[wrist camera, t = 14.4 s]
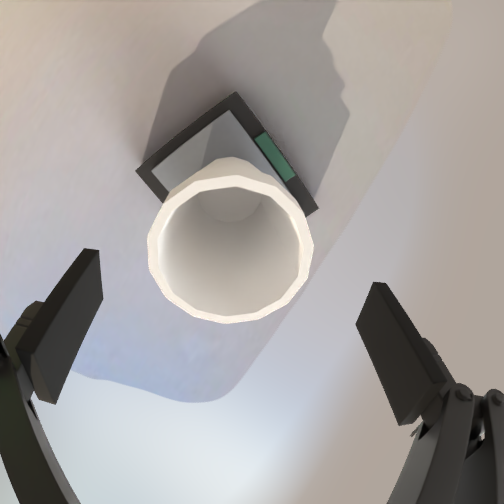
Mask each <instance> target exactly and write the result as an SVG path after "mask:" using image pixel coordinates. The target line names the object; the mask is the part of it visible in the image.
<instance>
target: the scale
mask: <svg viewBox="0 0 504 504" xmlns="http://www.w3.org/2000/svg"><path fill="white" fill-rule="evenodd" d="M226 157H236V158H239V159H242V160H246V161H248V162H250V163H251V164H252V165H253V166H255V167H256V168H257V169H258V170H260V171H261V172H262V173H265V174H268V175H271V176H272V177H273V178H274V179H275V180H276V181H277V182H278V183H279V184H280V185H282V186H283V187H284V188H285V189H286V190H287V191H288V192H289V193H290V194H291V195H292V196H293V197H294V198H295V199H296V201H297V202H298V204H299V206H300V207H301V209H302V211H303V213H304V215H305V217H307V216H308V215H310V214H311V213H313V212H314V211H316V210H317V209H319V207H318V206H317V204H316V203H315V201H314V200H313V198H312V197H311V195H310V194H309V192H308V191H307V189H306V188H305V186H304V185H303V183H302V182H301V180H300V179H299V177H298V176H297V174H296V173H295V171H294V170H293V169H292V167H291V166H290V164H289V163H288V161H287V160H286V158H285V157H284V156H283V154H282V153H281V151H280V150H279V149H278V147H277V146H276V144H275V143H274V141H273V140H272V139H271V137H270V136H269V135H268V133H267V132H266V130H265V129H264V128H263V126H262V125H261V124H260V122H259V121H258V120H257V118H256V117H255V115H254V114H253V113H252V111H251V110H250V109H249V108H248V106H247V105H246V104H245V102H244V101H243V100H242V98H241V97H240V96H239V94H238V93H237V92H235V93H233V94H232V95H230V96H229V97H227V98H226V99H225V100H223V101H222V102H220V103H219V104H218V105H216V106H215V107H214V108H212V109H211V110H209V111H208V112H207V113H205V114H204V115H203V116H201V117H200V118H199V119H197V120H196V121H195V122H194V123H192V124H191V125H190V126H188V127H187V128H186V129H185V130H183V131H182V132H181V133H179V134H178V135H177V136H176V137H174V138H173V139H172V140H171V141H170V142H168V143H167V144H166V145H165V146H163V147H162V148H161V149H160V150H159V151H157V152H156V153H155V154H154V155H153V156H152V157H150V158H149V159H148V160H147V161H146V162H145V163H143V164H142V165H141V166H140V167H139V168H138V169H137V170H135V171H136V173H137V174H138V175H139V176H140V177H141V178H142V180H143V181H144V182H145V183H146V184H147V185H148V187H149V188H150V189H151V190H152V191H153V192H154V194H155V195H156V196H157V197H158V198H159V199H160V201H161V202H162V203H164V201H165V200H166V198H167V196H168V194H169V193H170V191H171V190H172V189H174V188H175V187H177V186H178V185H179V184H181V183H182V182H184V181H185V180H186V179H188V178H189V177H191V176H192V175H194V174H195V173H196V172H198V171H199V170H201V169H203V168H204V167H206V166H207V165H208V164H210V163H211V162H213V161H214V160H216V159H220V158H226Z"/></svg>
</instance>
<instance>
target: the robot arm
mask: <svg viewBox="0 0 504 504" xmlns="http://www.w3.org/2000/svg"><path fill="white" fill-rule="evenodd" d="M102 301H103V291H102V281H101V271H100V259H99V250H94V249H86V248H84V249H83V251H82V252H81V253H80V254H79V256H78V257H77V258H76V260H75V261H74V262H73V263H72V265H71V266H70V267H69V269H68V270H67V271H66V273H65V274H64V275H63V277H62V278H61V279H60V281H59V282H58V284H57V285H56V286H55V288H54V289H53V291H52V292H51V293H50V295H49V296H48V298H47V299H46V301H45V302H39V301H35V302H33V303H32V304H31V305H29V306H28V307H27V308H26V309H25V310H24V312H23V313H22V315H21V317H20V318H19V319H18V320H17V322H16V325H14V326H13V328H12V329H11V331H10V332H9V334H8V335H7V337H6V338H5V340H4V341H3V339H2V337H1V334H0V454H1V457H2V460H3V463H4V466H5V469H6V471H7V474H8V477H9V479H10V482H11V484H12V487H13V489H14V491H15V493H16V496H17V498H18V501H19V503H20V504H81V503H80V502H79V500H78V498H77V496H76V495H75V493H74V492H73V490H72V488H71V486H70V484H69V482H68V480H67V479H66V477H65V475H64V473H63V471H62V469H61V467H60V465H59V463H58V461H57V459H56V457H55V455H54V453H53V450H52V448H51V446H50V444H49V442H48V439H47V437H46V435H45V432H44V430H43V428H42V425H41V423H40V420H39V418H38V415H37V413H36V410H35V407H34V405H33V402H32V400H31V395H32V393H33V391H35V393H36V395H37V397H38V399H39V400H42V401H45V402H49V403H52V404H56V403H57V400H58V397H59V395H60V393H61V390H62V388H63V385H64V383H65V380H66V378H67V376H68V373H69V371H70V369H71V366H72V364H73V362H74V359H75V357H76V355H77V353H78V351H79V348H80V346H81V344H82V342H83V340H84V337H85V335H86V333H87V331H88V329H89V327H90V325H91V323H92V321H93V319H94V317H95V315H96V313H97V311H98V309H99V307H100V305H101V303H102ZM356 327H357V329H358V331H359V334H360V336H361V338H362V340H363V342H364V344H365V347H366V349H367V351H368V353H369V356H370V358H371V360H372V362H373V365H374V367H375V370H376V372H377V374H378V377H379V379H380V381H381V384H382V386H383V388H384V391H385V393H386V395H387V398H388V400H389V403H390V405H391V408H392V410H393V413H394V415H395V418H396V420H397V423H398V425H399V426H401V425H406V424H412V423H413V422H415V421H416V419H417V418H418V417H419V416H420V415H421V417H422V419H423V421H422V422H421V424H420V425H419V426H418V427H417V428H416V429H415V430H414V431H413V432H412V434H411V435H410V436H411V437H412V436H413V435H414V434H415V433H417V434H416V436H415V439H414V441H413V444H412V447H411V450H410V452H409V455H408V457H407V459H406V462H405V465H404V467H403V469H402V471H401V474H400V476H399V478H398V481H397V483H396V485H395V487H394V490H393V491H392V494H391V496H390V498H389V500H388V502H387V504H504V394H503V393H502V392H501V391H499V390H497V389H491V390H489V391H488V392H487V393H486V395H485V396H484V397H483V396H476V395H474V394H473V392H472V391H471V390H470V388H468V387H467V386H466V385H463V384H461V383H456V382H455V381H454V379H453V377H452V375H451V374H450V372H449V371H448V369H447V367H446V365H445V364H444V362H443V361H442V359H441V357H440V356H439V355H438V352H437V351H436V349H435V348H434V346H433V345H432V344H431V343H430V342H429V341H428V340H427V339H426V338H422V337H421V336H420V334H419V332H418V331H417V329H416V328H415V326H414V325H413V323H412V321H411V320H410V318H409V317H408V315H407V314H406V312H405V311H404V309H403V308H402V306H401V305H400V303H399V302H398V300H397V299H396V297H395V296H394V294H393V293H392V291H391V290H390V288H389V287H388V285H387V284H386V283H381V282H373V284H372V286H371V289H370V291H369V294H368V296H367V299H366V301H365V303H364V306H363V308H362V310H361V313H360V315H359V318H358V320H357V322H356ZM483 433H484V434H485V438H484V439H483V440H481V435H482V434H483Z"/></svg>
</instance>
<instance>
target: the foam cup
mask: <svg viewBox="0 0 504 504" xmlns="http://www.w3.org/2000/svg"><path fill="white" fill-rule="evenodd" d="M147 245H148V262H149V271H150V272H151V274H152V276H153V277H154V279H155V281H156V282H157V284H158V286H159V287H160V289H161V291H162V292H163V294H164V296H165V297H166V298H167V299H168V300H170V301H171V302H173V303H174V304H175V305H177V306H178V307H180V308H181V309H183V310H184V311H186V312H187V313H189V314H190V315H191V316H193V317H197V318H202V319H206V320H210V321H215V322H219V323H223V324H228V323H236V322H244V321H251V320H258V319H260V318H262V317H264V316H266V315H268V314H270V313H271V312H273V311H275V310H277V309H279V308H281V307H283V306H284V305H286V304H288V302H289V301H290V300H291V299H292V297H293V296H294V295H295V294H296V292H297V291H298V290H299V289H300V287H301V286H302V285H303V283H304V282H305V281H306V280H307V278H308V274H309V269H310V264H311V260H312V255H313V250H314V244H313V241H312V238H311V234H310V231H309V228H308V224H307V221H306V218H305V215H304V213H303V211H302V209H301V207H300V206H299V204H298V202H297V201H296V199H295V198H294V197H293V196H292V195H291V194H290V193H289V192H288V191H287V190H286V189H285V188H284V187H283V186H282V185H280V184H279V183H278V182H277V181H276V180H275V179H274V178H273V177H272V176H271V175H268V174H265V173H262V172H261V171H260V170H258V169H257V168H256V167H255V166H253V165H252V164H251V163H250V162H248V161H246V160H242V159H239V158H236V157H226V158H220V159H216V160H214V161H213V162H211V163H210V164H208V165H207V166H206V167H204V168H203V169H201V170H199V171H198V172H196V173H195V174H194V175H192V176H191V177H189V178H188V179H186V180H185V181H184V182H182V183H181V184H179V185H178V186H177V187H175V188H174V189H172V190H171V191H170V193H169V194H168V196H167V198H166V200H165V201H164V203H163V205H162V207H161V209H160V211H159V213H158V215H157V217H156V219H155V221H154V223H153V225H152V227H151V229H150V231H149V233H148V236H147Z"/></svg>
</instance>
